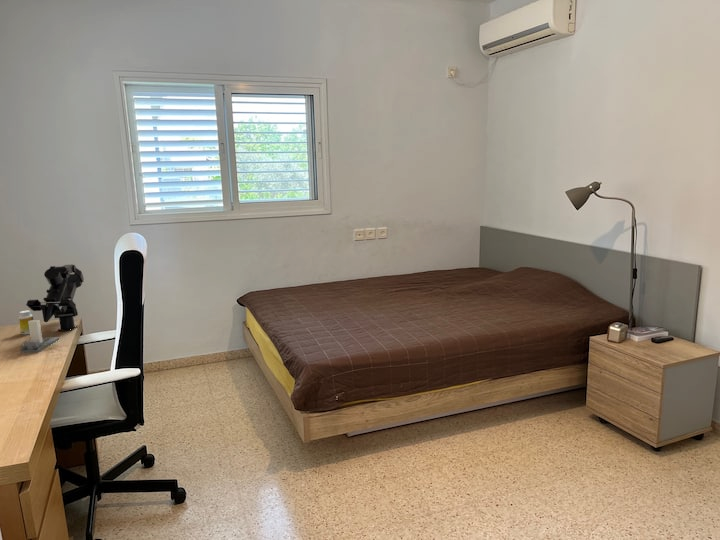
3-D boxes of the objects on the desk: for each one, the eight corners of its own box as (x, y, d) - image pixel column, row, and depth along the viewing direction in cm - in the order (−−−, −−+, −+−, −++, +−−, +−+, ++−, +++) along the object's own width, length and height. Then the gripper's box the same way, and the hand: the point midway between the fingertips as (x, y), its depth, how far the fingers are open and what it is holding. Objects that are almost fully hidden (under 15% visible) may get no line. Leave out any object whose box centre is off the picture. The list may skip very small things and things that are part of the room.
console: (43, 340, 220) (42, 331, 220) (59, 339, 221) (58, 330, 220) (20, 353, 205) (18, 343, 204) (38, 352, 205) (36, 343, 204)
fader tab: (36, 343, 213) (32, 319, 211) (44, 343, 213) (41, 319, 211) (30, 346, 208) (26, 322, 206) (38, 346, 208) (34, 322, 206)
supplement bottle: (36, 333, 231) (32, 311, 229) (21, 335, 228) (18, 313, 226) (34, 330, 236) (31, 309, 234) (20, 332, 232) (16, 311, 230)
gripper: (85, 299, 232) (76, 329, 223) (44, 300, 232) (33, 331, 223) (74, 286, 223) (63, 317, 214) (31, 287, 222) (19, 319, 214)
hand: (45, 321), depth 216 cm, fingers closed
